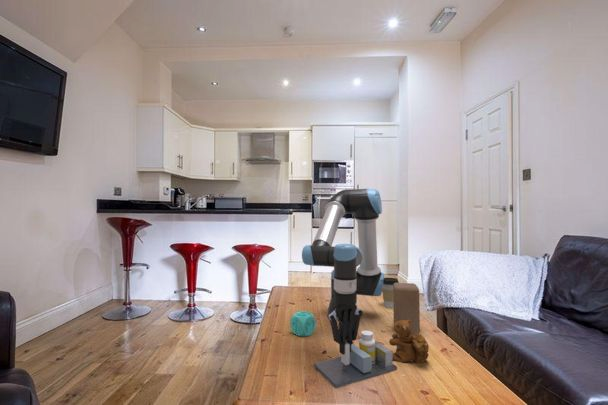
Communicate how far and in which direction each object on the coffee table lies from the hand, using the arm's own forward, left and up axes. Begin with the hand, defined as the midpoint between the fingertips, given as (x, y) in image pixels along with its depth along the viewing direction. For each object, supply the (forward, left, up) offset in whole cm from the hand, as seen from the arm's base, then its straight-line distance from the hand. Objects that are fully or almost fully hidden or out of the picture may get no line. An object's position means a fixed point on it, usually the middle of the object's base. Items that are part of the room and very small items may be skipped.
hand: (345, 362), depth 100 cm
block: (-16, +43, -3) cm, 46 cm away
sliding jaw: (0, +5, -1) cm, 5 cm away
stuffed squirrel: (+3, +26, -3) cm, 26 cm away
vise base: (0, +4, -3) cm, 5 cm away
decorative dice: (-34, +1, -3) cm, 34 cm away
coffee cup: (-45, +60, -3) cm, 75 cm away
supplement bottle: (0, +9, -2) cm, 9 cm away
